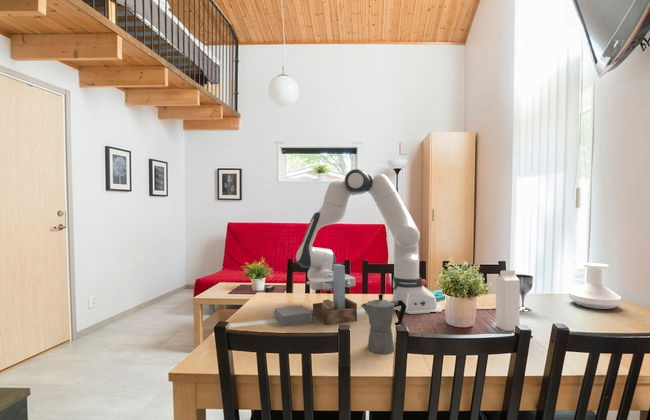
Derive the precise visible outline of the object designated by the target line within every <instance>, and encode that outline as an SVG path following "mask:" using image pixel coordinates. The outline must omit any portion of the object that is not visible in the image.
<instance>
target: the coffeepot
mask: <svg viewBox="0 0 650 420" xmlns="http://www.w3.org/2000/svg"><path fill="white" fill-rule="evenodd" d="M377 296H378V299H374V300H369V301H367V302H365V303H363V304H361V306H360V307H361V308H363V310H364V311H365V313H366V316H367V317H368V321H369V322H368V323H369V325H370V328H369V336H368V342H367V347H366V349H367V350H368V351H369V352H370V353H372V354H378V355H388V354H391V353H394V352H395V343H394V338H393V332H392V323H394V325H395V326H400V325H402V322H403V319H404V316H405V314H406V313H405V310H406V304H405V303H404V302H403V301H402V300H398V301H392V300H391V301H390V300H387V299H383V297H384V294H383V293H379V294H378V295H377ZM397 306H401V309H400V311H399V315H398V318H397V319H398V320H397V322H393V317H394V316H393V315H394V311H395V310H394V307H397Z"/></svg>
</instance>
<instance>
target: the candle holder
mask: <svg viewBox="0 0 650 420" xmlns="http://www.w3.org/2000/svg"><path fill="white" fill-rule="evenodd" d="M580 264H581V265H582V266H583V267H585V268H586V270H587V273H586V274H587V276H586V277H587V279H586V280H587V281H586V283H585V284H582V285H579V286H577V287H575V288H573V289H572V290H570V291H569V292H568V297H569V299H570V300H571V301H573V302H574V303H575V304H576V305H579V306H580V307H581V306H582V307H585V308H589V309H597V310H610V309H615V308H617V307H618V306H620V305H622V296H620V295H619V294H618V293H616V292H615V291H612V290H611V289H610V288H608V287H606V286H604V285H603V270H604V269H606V268H607V267H609V264H606V263H597V262H596V263H595V262H581V263H580Z"/></svg>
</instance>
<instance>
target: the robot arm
mask: <svg viewBox="0 0 650 420" xmlns="http://www.w3.org/2000/svg"><path fill="white" fill-rule="evenodd" d="M365 193H368V194H370V196H371V197H372V199H373V201H374V203H375V204H376V207H377V208H378V210H379V212H380V214H381V215H382V217H383V219H384V221H385V223H386V225H387V227H388V230H389V231H390V233H391V235H392V238H393V240H394V241H393V247H394V248H393V250H394V251H393V255H394V256H393V259H394V260H393V263H394V265H393V266H394V267H393V269H394V270H393V273H394V274H393V277H392V278H393V279H392V288H393V293H392V299H391V301H398V300H402V301H403V302H404V303H405V304H406V310H405V313H404V314H408V315H417V314H431V313H430V312H436V313H441V311H442V312H443V308H442V306H441V305H440V304H438V303H437V302H438V301H436V298H435V296H434V294H433V293H431V292H430V290H429V289H428V288H427V287H426V286H425V285H426V284H427V281H426V279H423V278H421V277H420V253H419V252H420V251H419V241H420V239H421V235H420V234H421V233H420V230H419V228H418V227H417V225H416V222H415V221H414V219H413V218H412V216H411V214H410V213H409V211H408V209H407V207H406V205H405V203H404V201H403V199H402V197H401V196H400V194H399V192H398V191H397V189H396V187H395V185H394V183H392V181H391V180H390V178H389V177H388V176H387V175H385V174H383V173H377V174H375V175H373V176H372V175H370V174H369V173H367V172H365V170H361V169H359V168H355V169H351V170H349V171H348V172H347V173H346V175H345V177H344V180H342V181H341V180H340V181H339V180H335V181H332V182H330V183H329V185H328V186H327V189H326V192H325V195H324V198H323V203H322V205H321V207H320V209H319V210H318V211H317V212H314V214H313V216H312V217H311V219H310V222H309V223H308V226H307V229H306V231H305V233H304V236H303V238H302V241H301V243H300V245H299V247H298V248H297V249H298V250H297V251H296V255H295V261H296V263H297V264H298V266H300V267H301V268H308V270H307V274H306V275H307V279H308V280H307V281H306V284H307V285H308V286H309V288H310V289H311V290H313V291H318V290H319V291H320V290H322V291H327V292H328V291H331V290H332V291H333V264H337V258H336V256H335V252H334V251H333V250H332V249H330V248H324V247H315V246H313V244H314V242H315V239H316V236H317V233H318V231H319V230H320V229H322V228H323V227H325V226H329V225H330V226H331V225H335V224H336V223H338V222H340V221H341V220H343V218H344V217H345V214H346V210H347V204H348V201H349V199H350V197H351V196H354V195H363V194H365ZM355 286H356V278H355V277H354V276H352V275H350V274H347V273H345V288H352V287H355ZM400 309H401V306H397V307H394V311H396V310H398V311H397V312H400Z"/></svg>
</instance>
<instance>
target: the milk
mask: <svg viewBox="0 0 650 420" xmlns="http://www.w3.org/2000/svg"><path fill="white" fill-rule="evenodd" d="M499 273H500V274H499V275H498V276H496V277H495V327H498V328H499V329H501V330H502V331H505V332H509V331H515V330H514V328H515V326H516V325H517V326H521V325H520V317H521V316H520V312H521V311H520V307H521V303H520V302H521V301H520V299H521V298H520V297H521V295H520V280H519V279H518V277H517V276H516V275H515V274H516V270H500V272H499Z"/></svg>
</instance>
